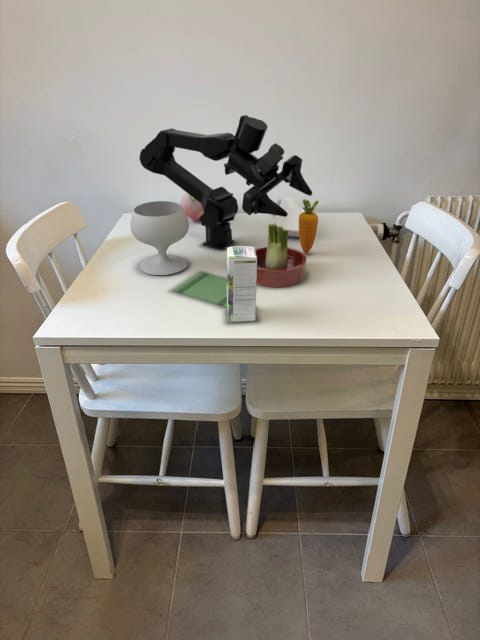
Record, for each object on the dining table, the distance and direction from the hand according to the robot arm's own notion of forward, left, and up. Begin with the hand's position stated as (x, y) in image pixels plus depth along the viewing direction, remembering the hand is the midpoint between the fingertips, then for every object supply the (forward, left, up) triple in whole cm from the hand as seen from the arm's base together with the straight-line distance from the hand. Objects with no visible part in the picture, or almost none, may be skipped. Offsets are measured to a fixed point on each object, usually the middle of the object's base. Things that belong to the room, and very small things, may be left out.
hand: (299, 204), depth 113 cm
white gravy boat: (-14, +24, -16) cm, 33 cm away
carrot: (-1, +8, -16) cm, 18 cm away
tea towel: (-11, -21, -16) cm, 28 cm away
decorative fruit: (-42, +14, -16) cm, 47 cm away
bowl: (-3, -6, -16) cm, 17 cm away
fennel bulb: (-3, -6, -16) cm, 17 cm away
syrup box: (0, -27, -16) cm, 32 cm away
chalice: (-29, -17, -16) cm, 37 cm away
